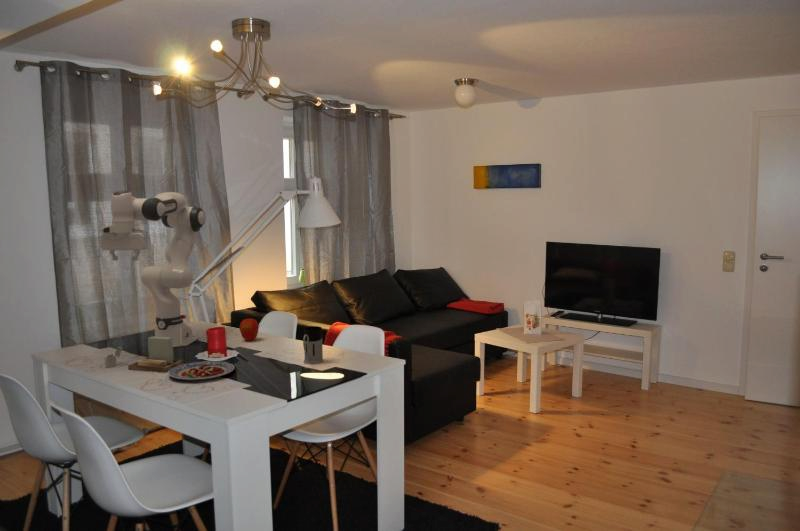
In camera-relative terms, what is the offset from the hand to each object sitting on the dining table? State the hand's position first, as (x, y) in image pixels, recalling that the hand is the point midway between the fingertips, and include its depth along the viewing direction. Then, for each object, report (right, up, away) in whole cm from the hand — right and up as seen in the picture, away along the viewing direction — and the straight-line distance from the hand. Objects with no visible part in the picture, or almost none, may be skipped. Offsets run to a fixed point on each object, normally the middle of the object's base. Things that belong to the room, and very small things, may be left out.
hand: (125, 260), depth 271 cm
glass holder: (+81, -45, 0) cm, 92 cm away
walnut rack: (+15, -45, -4) cm, 48 cm away
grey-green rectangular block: (+16, -45, -1) cm, 48 cm away
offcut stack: (+15, -46, -7) cm, 49 cm away
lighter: (-4, -46, -2) cm, 46 cm away
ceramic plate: (+38, -47, -15) cm, 63 cm away
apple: (+44, -40, +43) cm, 73 cm away
